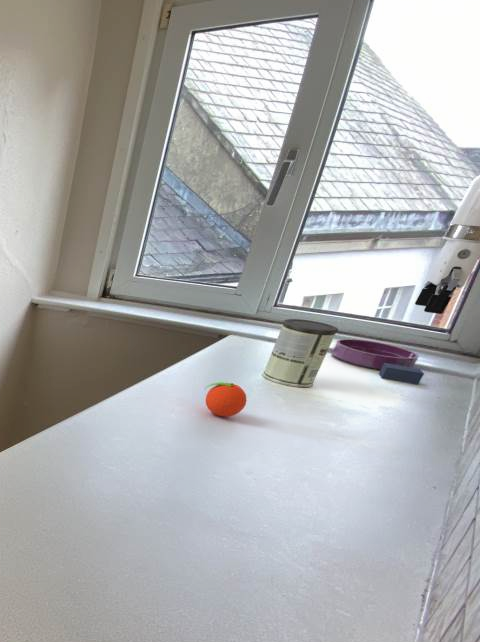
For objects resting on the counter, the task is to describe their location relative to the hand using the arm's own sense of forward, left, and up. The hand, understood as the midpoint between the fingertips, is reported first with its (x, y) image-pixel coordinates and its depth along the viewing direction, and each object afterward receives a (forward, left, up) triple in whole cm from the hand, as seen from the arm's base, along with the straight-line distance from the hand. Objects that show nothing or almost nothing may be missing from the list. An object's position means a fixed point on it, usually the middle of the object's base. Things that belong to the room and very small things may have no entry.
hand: (427, 309), depth 132 cm
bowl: (+2, -16, -18) cm, 24 cm away
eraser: (-2, -2, -18) cm, 18 cm away
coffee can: (+22, +20, -18) cm, 35 cm away
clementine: (+35, +58, -18) cm, 71 cm away
